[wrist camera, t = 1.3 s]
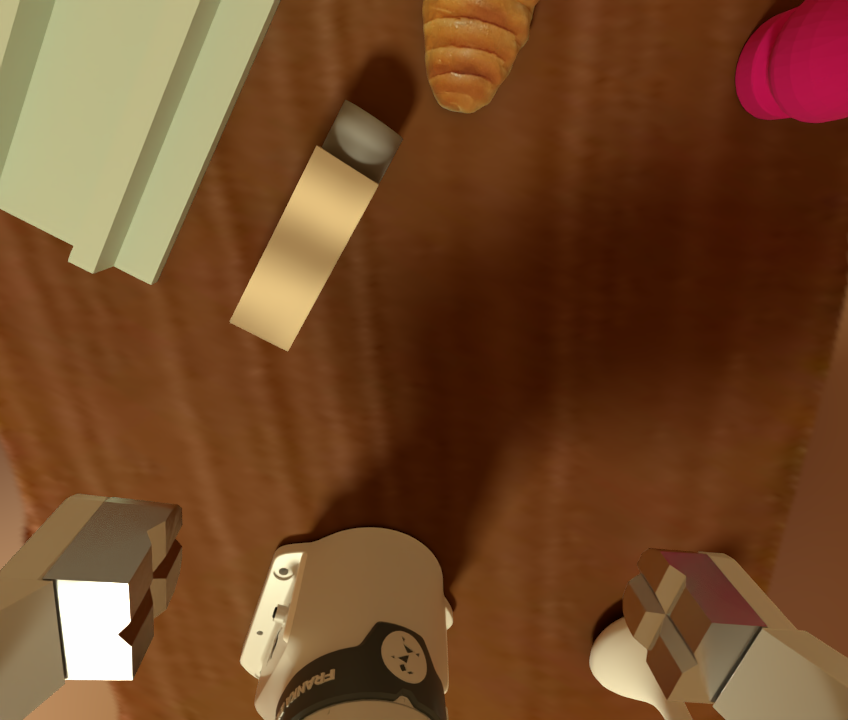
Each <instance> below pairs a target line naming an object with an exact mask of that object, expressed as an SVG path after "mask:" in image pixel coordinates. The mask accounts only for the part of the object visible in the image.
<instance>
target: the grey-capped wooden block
mask: <svg viewBox="0 0 848 720" xmlns="http://www.w3.org/2000/svg"><path fill="white" fill-rule="evenodd" d="M402 140H403V138H402V137H401V136H399V135H398V134H397V133H396V132H394V131H393V130H392V129H390V128H389V127H388V126H386V125H385V124H384V123H382V122H381V121H379V120H378V119H376V118H375V117H373V116H372V115H370V114H369V113H367V112H366V111H364V110H363V109H361V108H360V107H358V106H356V105H355V104H353V103H351V102H349V101H347V100H345V101H344V103H343V105H342V107H341V109H340V111H339V113H338V115H337V117H336V119H335V121H334V123H333V125H332V127H331V129H330V131H329V133H328V135H327V137H326V139H325V141H324V143H323V145H322V147H319V146H316V148H315V150H314V152H313V154H312V156H311V158H310V160H309V162H308V164H307V166H306V168H305V170H304V172H303V174H302V176H301V178H300V180H299V182H298V184H297V186H296V188H295V190H294V192H293V194H292V196H291V198H290V200H289V203H288V205H287V207H286V209H285V211H284V213H283V215H282V217H281V219H280V221H279V223H278V225H277V227H276V229H275V231H274V233H273V235H272V237H271V239H270V241H269V243H268V245H267V247H266V249H265V251H264V253H263V255H262V257H261V259H260V261H259V263H258V265H257V267H256V269H255V271H254V273H253V275H252V277H251V279H250V281H249V283H248V285H247V288H246V290H245V292H244V294H243V296H242V298H241V300H240V302H239V304H238V306H237V308H236V310H235V312H234V314H233V316H232V318H231V320H230V323H232V324H234V325H236V326H238V327H240V328H242V329H244V330H246V331H248V332H250V333H252V334H254V335H256V336H258V337H260V338H262V339H264V340H266V341H268V342H270V343H272V344H274V345H276V346H278V347H280V348H282V349H284V350H286V351H288V350H289V348H290V347H291V345H292V343H293V341H294V339H295V337H296V336H297V334H298V332H299V330H300V328H301V326H302V325H303V323H304V321H305V319H306V317H307V315H308V314H309V312H310V310H311V308H312V306H313V304H314V303H315V301H316V299H317V297H318V295H319V293H320V292H321V290H322V288H323V286H324V284H325V282H326V281H327V279H328V277H329V275H330V273H331V271H332V270H333V268H334V266H335V264H336V262H337V260H338V259H339V257H340V255H341V253H342V251H343V249H344V248H345V246H346V244H347V242H348V240H349V238H350V237H351V235H352V233H353V231H354V229H355V227H356V226H357V224H358V222H359V220H360V218H361V217H362V215H363V213H364V211H365V209H366V207H367V206H368V204H369V202H370V200H371V198H372V196H373V195H374V193H375V191H376V189H377V187H378V185H379V183H380V181H381V179H382V177H383V175H384V173H385V172H386V170H387V168H388V166H389V164H390V162H391V161H392V159H393V157H394V155H395V153H396V151H397V150H398V148H399V146H400V144H401V142H402Z"/></svg>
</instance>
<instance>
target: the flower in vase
mask: <svg viewBox="0 0 848 720" xmlns="http://www.w3.org/2000/svg"><path fill="white" fill-rule="evenodd" d="M646 657H647V649H646V648H645V647H644V646H642V645H641V644H640V643H639V642H638V641H637V640H636V639H634V638H633V636H632V634H631V632H630V630H629V628H628V626H627V624H626V621H625V617H622V618H620V619H618V620H616V621H615V622H613V623H612V624H610V625H609V626H608V627H606V628H605V629H604V630H603V631H602V632H601V633H600V635H599V636H598V637H597V639H596V640H595V642H594V644H593V646H592V649H591V654H590V661H589V662H590V668H591V671H592V673H593V675H594V676H595V677H596V679H597V680H598V681H599V682H600V683H601V684H602V685H603V686H604V687H605V688H607V689H609V690H611V691H613V692H615V693H617V694H619V695H622V696H625V697H628V698H632V699H636V700H640V701H644V702H648V703H650V704H652V705H654V706H655V707H656V708H657V709H658V710H659V711H660V713H661V714H662V715H663V717H664V719H665V720H693V719H692V717H691V715H690V714H689V712H688V710H687V708H686V705H685V703H684V702H681V701H667V700H666V698H665V696H664V694H663V692H662V690H661V688H660V687H659V685H658V683H657V681H656V679H655V677H654V675H653V674H652V672H651V670H650V668H649V666H648V664H647V662H646Z"/></svg>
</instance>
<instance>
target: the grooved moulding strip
mask: <svg viewBox="0 0 848 720" xmlns="http://www.w3.org/2000/svg"><path fill="white" fill-rule="evenodd" d="M279 2H280V0H0V209H2V210H4V211H6V212H8V213H10V214H12V215H14V216H16V217H18V218H20V219H22V220H24V221H26V222H28V223H30V224H31V225H33V226H35V227H37V228H39V229H41V230H43V231H45V232H47V233H49V234H51V235H53V236H55V237H57V238H59V239H61V240H63V241H65V242H67V243H69V244H71V245H73V249H72V251H71V254H70V257H69V259H68V262H70V263H72V264H74V265H76V266H78V267H80V268H82V269H84V270H86V271H88V272H90V273H92V274H94V273H96V272H99V271H102V270H105V269H107V268H110V267H113V266H115V267H116V268H118V269H120V270H122V271H124V272H126V273H128V274H130V275H132V276H134V277H136V278H138V279H140V280H142V281H144V282H146V283H148V284H150V285H152V284H154V283H156V282H157V281H158V279H159V277H160V274H161V272H162V270H163V268H164V265H165V263H166V261H167V258H168V256H169V254H170V252H171V249H172V247H173V245H174V242H175V240H176V238H177V236H178V233H179V231H180V229H181V226H182V224H183V222H184V220H185V217H186V215H187V213H188V210H189V208H190V206H191V204H192V201H193V199H194V197H195V194H196V192H197V190H198V188H199V185H200V183H201V181H202V178H203V176H204V174H205V172H206V169H207V167H208V165H209V162H210V160H211V158H212V156H213V153H214V151H215V149H216V146H217V144H218V142H219V140H220V137H221V135H222V133H223V130H224V128H225V126H226V123H227V121H228V119H229V117H230V114H231V112H232V110H233V107H234V105H235V103H236V101H237V98H238V96H239V94H240V91H241V89H242V87H243V85H244V82H245V80H246V78H247V75H248V73H249V71H250V69H251V66H252V64H253V62H254V59H255V57H256V55H257V53H258V50H259V48H260V46H261V43H262V41H263V39H264V37H265V34H266V32H267V30H268V27H269V25H270V23H271V21H272V18H273V16H274V14H275V11H276V9H277V7H278V5H279Z"/></svg>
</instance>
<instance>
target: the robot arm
mask: <svg viewBox="0 0 848 720" xmlns="http://www.w3.org/2000/svg"><path fill="white" fill-rule="evenodd" d="M181 526H182V508H181V507H180V506H179V505H177V504H169V503H160V502H151V501H143V500H134V499H125V498H117V497H112V498H109V497H102V496H93V495H85V494H75V495H73V496H71V497H69V498H67V499H66V500H65V501H64V502H63V503H62V504H61V505H60V506H59V507H58V508H57V510H56V511H55V512H54V513H53V514H52V515H51V516H50V517H49V518H48V519H47V520H46V521H45V523H44V524H43V525H42V526H41V527H40V528H39V529H38V530H37V531H36V532H35V533H34V534H33V536H32V537H31V538H30V539H29V540H28V541H27V542H26V543H25V544H24V545H23V546H22V547H21V548H20V550H19V551H18V552H17V553H16V554H15V555H14V556H13V557H12V558H11V559H10V560H9V561H8V563H7V564H6V565H5V566H4V567H3V568H2V569H1V570H0V720H23V719H24V718H25V717H26V716H27V715H29V714H30V713H31V712H32V711H33V710H35V709H36V708H37V707H38V706H39V705H40V704H42V703H43V702H44V701H45V700H46V699H48V698H49V697H50V696H51V695H52V694H53V693H55V692H56V691H57V690H58V689H59V688H60V687H62V686H63V685H64V684H65V680H133V678H134V676H135V674H136V672H137V670H138V668H139V666H140V664H141V662H142V659H143V657H144V655H145V653H146V651H147V649H148V647H149V645H150V643H151V641H152V639H153V636H154V623H153V619H154V618H155V617H157V616H158V615H159V614H161V613H162V612H163V611H165V610H166V609H167V607H168V604H169V602H170V600H171V598H172V595H173V593H174V590H175V587H176V584H177V580H178V577H179V574H180V568H181V561H182V546H181V545H180V543H179V542H178V541H177V540H176V539H175V538H176V536H177V534H178V532H179V530H180V528H181ZM637 566H638V568H639V571H640V574H639V575H637V576H636V577H634V578H633V579H632V580H630V581H629V582H628V584H627V587H626V589H625V592H624V594H623V614H624V617H625V621H626V624H627V626H628V628H629V630H630V632H631V634H632V636H633V638H634V639H636V640H637V641H638V642H639V643H640V644H641V645H642V646H644V647H645V648H646V649H647V657H646V662H647V664H648V666H649V668H650V670H651V672H652V674H653V675H654V677H655V679H656V681H657V683H658V685H659V687H660V688H661V690H662V692H663V694H664V696H665V698H666V700H667V701H681V702H695V703H709V704H714V705H713V707H714V708H715V709H716V710H717V711H718V712H719V713H720V714H721V715H722V716H723V717H724V718H725V719H726V720H848V658H847V657H845V656H843V655H842V654H840V653H839V652H837V651H836V650H834V649H833V648H831V647H830V646H828V645H827V644H825V643H823V642H822V641H820V640H819V639H817V638H816V637H814V636H812V635H811V634H810V633H808V632H807V631H800V630H797V629H796V628H795V627H794V625H793V624H792V623H791V622H790V621H789V620H788V619H787V618H786V617H785V615H784V614H783V613H782V612H781V611H780V610H779V609H778V608H777V607H776V605H775V604H774V603H773V602H772V601H771V600H770V599H769V598H768V596H767V595H766V594H765V593H764V592H763V591H762V590H761V589H760V588H759V586H758V585H757V584H756V583H755V582H754V581H753V580H752V579H751V578H750V576H749V575H748V574H747V573H746V572H745V571H744V570H743V569H742V567H741V566H740V565H739V564H738V563H737V562H736V561H735V560H734V559H733V558H731V557H729V556H728V555H726V554H724V553H712V552H692V551H680V550H668V549H656V548H648V549H647V550H646V551H644V552H643V553H642V554H641V557H640V559H639V561H638V563H637ZM283 568H286V569H283ZM452 624H453V611H452V608H451V606H450V604H449V602H448V601H447V599H446V598H445V596H444V593H443V575H442V571H441V567H440V565H439V563H438V561H437V559H436V557H435V556H434V555H433V553H432V552H431V551H430V550H429V549H428V548H427V547H426V546H425V545H423V544H422V543H421V542H419V541H418V540H416V539H415V538H413V537H411V536H409V535H406V534H404V533H401V532H398V531H395V530H390V529H385V528H375V527H364V528H354V529H348V530H344V531H340V532H337V533H334V534H332V535H329V536H327V537H325V538H322V539H320V540H317V541H314V542H311V543H296V544H289V545H284V546H281V547H279V548H278V549H277V550H276V551H275V553H274V556H273V559H272V562H271V565H270V568H269V571H268V574H267V577H266V580H265V583H264V586H263V589H262V592H261V595H260V598H259V601H258V604H257V607H256V610H255V613H254V616H253V619H252V622H251V624H250V627H249V630H248V633H247V636H246V639H245V642H244V645H243V648H242V653H241V658H240V663H241V665H242V666H243V667H244V668H245V669H246V670H247V671H248V672H249V673H250V674H252V675H253V676H254V677H256V678H257V679H259V682H258V686H257V691H256V696H255V707H256V710H257V712H258V713H259V714H260V715H261V717H262V718H263V719H265V720H448V710H447V707H446V705H445V697H444V694H445V693H446V692H447V690H448V685H449V675H448V649H447V629H449V628H450V627H451V625H452Z"/></svg>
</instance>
